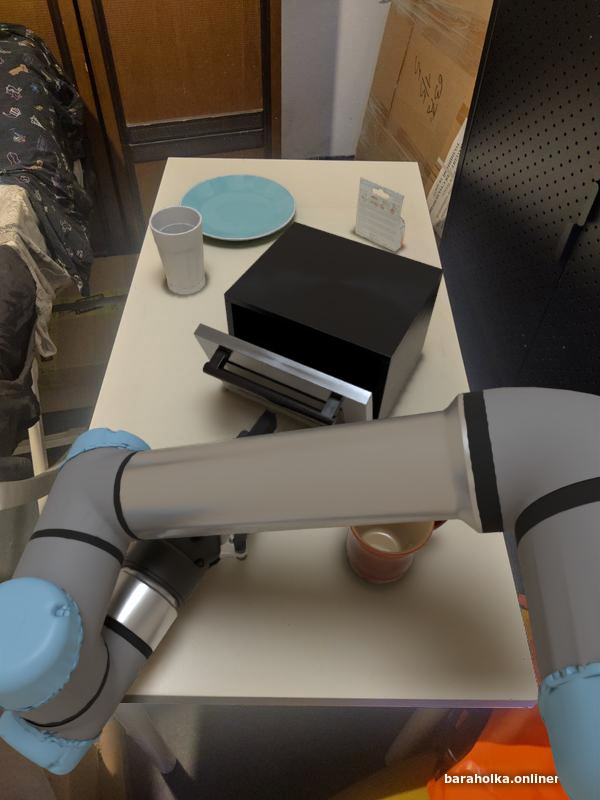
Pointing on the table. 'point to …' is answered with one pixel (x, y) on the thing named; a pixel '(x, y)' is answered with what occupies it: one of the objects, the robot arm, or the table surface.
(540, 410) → the robot arm
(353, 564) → the mug
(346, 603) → the table surface
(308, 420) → the door
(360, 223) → the ink box
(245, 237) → the plate
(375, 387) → the box
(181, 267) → the cup
